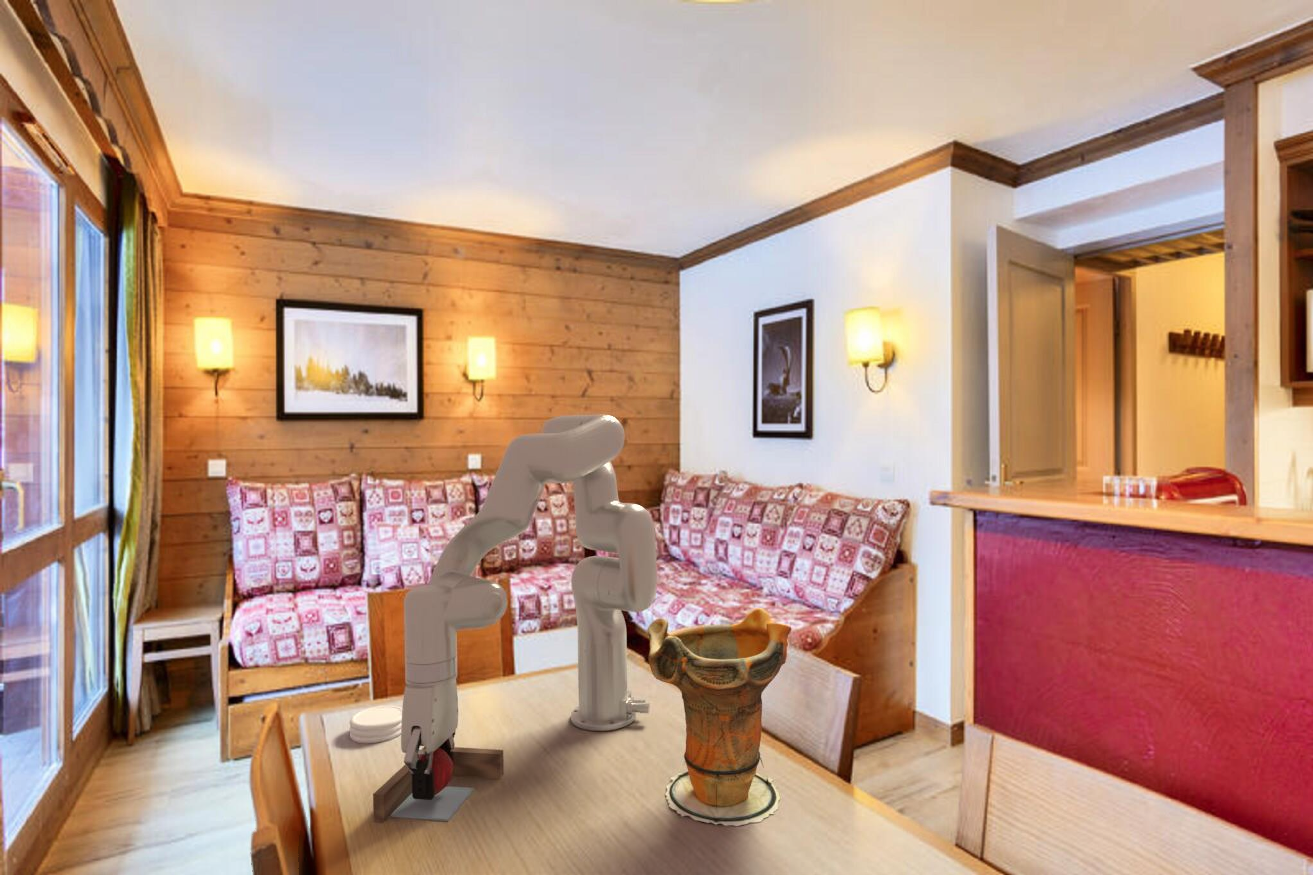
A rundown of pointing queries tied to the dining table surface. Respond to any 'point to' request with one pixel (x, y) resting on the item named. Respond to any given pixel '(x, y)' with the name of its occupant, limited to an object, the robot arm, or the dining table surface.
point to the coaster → (376, 724)
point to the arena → (465, 765)
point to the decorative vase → (721, 713)
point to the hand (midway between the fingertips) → (433, 786)
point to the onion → (440, 769)
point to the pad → (434, 805)
